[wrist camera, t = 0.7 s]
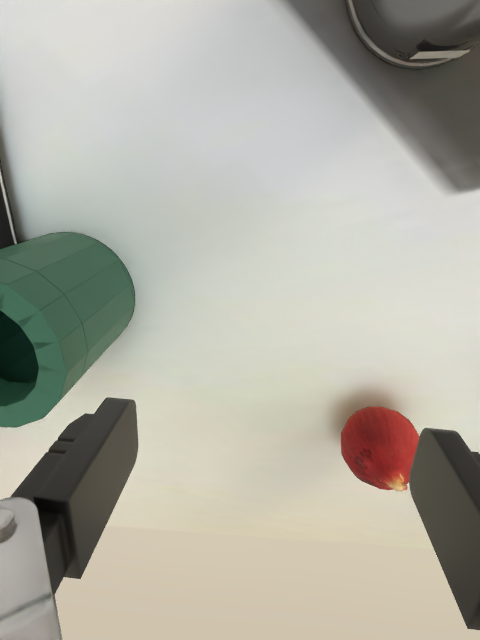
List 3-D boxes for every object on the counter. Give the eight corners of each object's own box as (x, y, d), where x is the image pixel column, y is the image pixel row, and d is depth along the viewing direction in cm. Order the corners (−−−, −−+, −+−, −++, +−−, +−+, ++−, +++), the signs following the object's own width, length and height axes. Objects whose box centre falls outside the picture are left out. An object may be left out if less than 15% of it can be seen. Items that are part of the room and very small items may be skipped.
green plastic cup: (7, 232, 29) (-136, 269, 19) (126, 231, 28) (44, 270, 18) (35, 342, 33) (-73, 424, 22) (141, 345, 32) (79, 430, 22)
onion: (353, 452, 34) (375, 532, 27) (322, 406, 33) (336, 477, 25) (415, 426, 33) (456, 503, 25) (385, 376, 31) (420, 443, 24)
